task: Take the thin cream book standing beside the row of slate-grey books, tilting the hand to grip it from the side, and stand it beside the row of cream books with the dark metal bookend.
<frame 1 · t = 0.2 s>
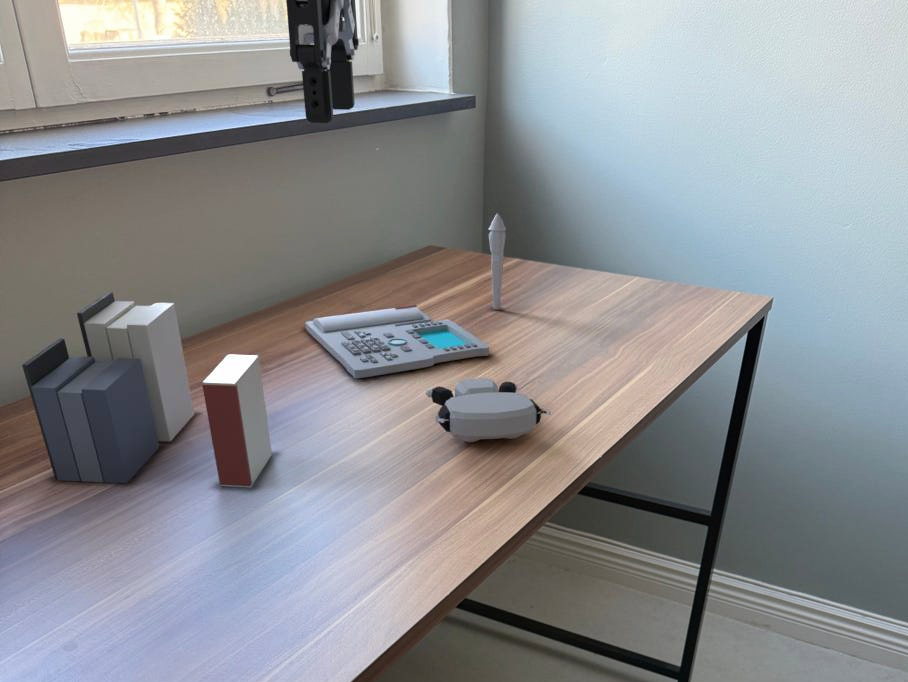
hand: (331, 115, 81), 33 cm above the table, tool pointing down, fingers open, 8 cm apart
robot toy: (483, 428, 107), on the table
office telephone: (395, 345, 131), on the table
cream book: (247, 469, 97), on the table
white books: (154, 426, 106), on the table
grey books: (110, 463, 98), on the table
pen: (495, 310, 144), on the table
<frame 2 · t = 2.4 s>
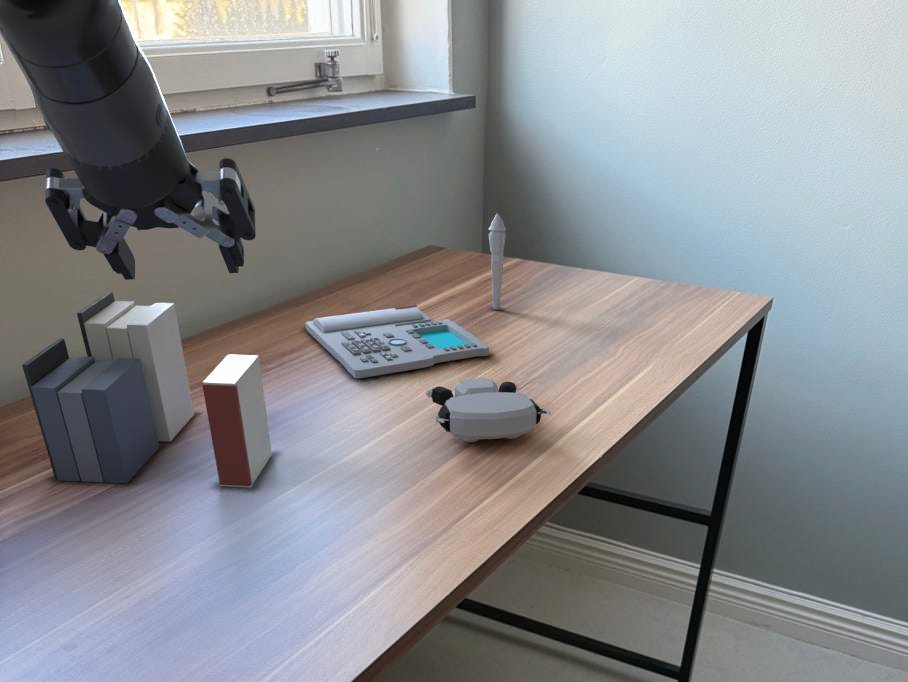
hand: (182, 267, 76), 23 cm above the table, tool tilted 40°, fingers open, 8 cm apart
nothing on the table moved.
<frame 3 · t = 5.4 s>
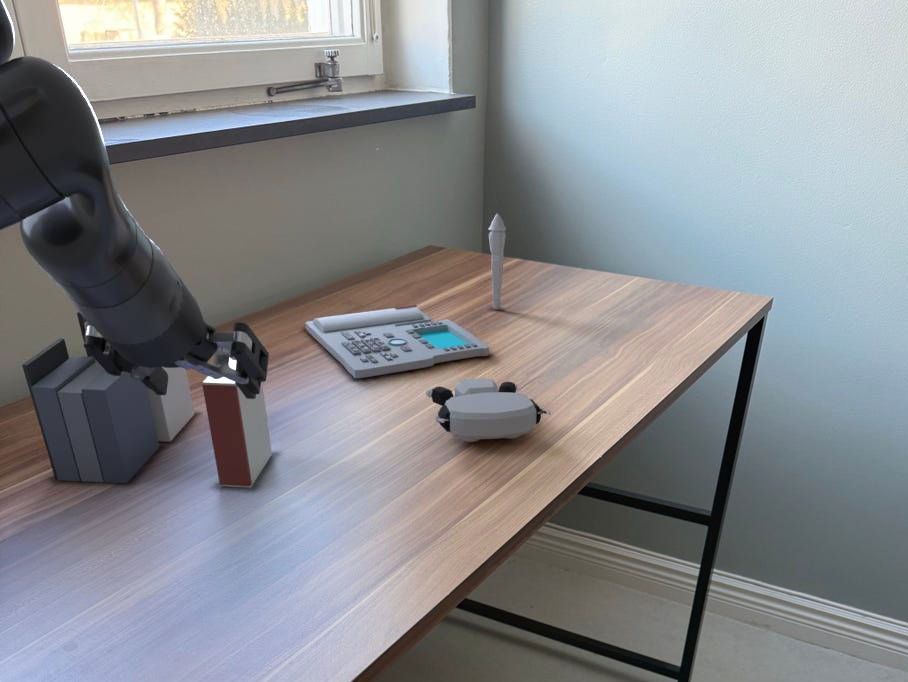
hand: (208, 387, 85), 12 cm above the table, tool tilted 45°, fingers open, 8 cm apart
nothing on the table moved.
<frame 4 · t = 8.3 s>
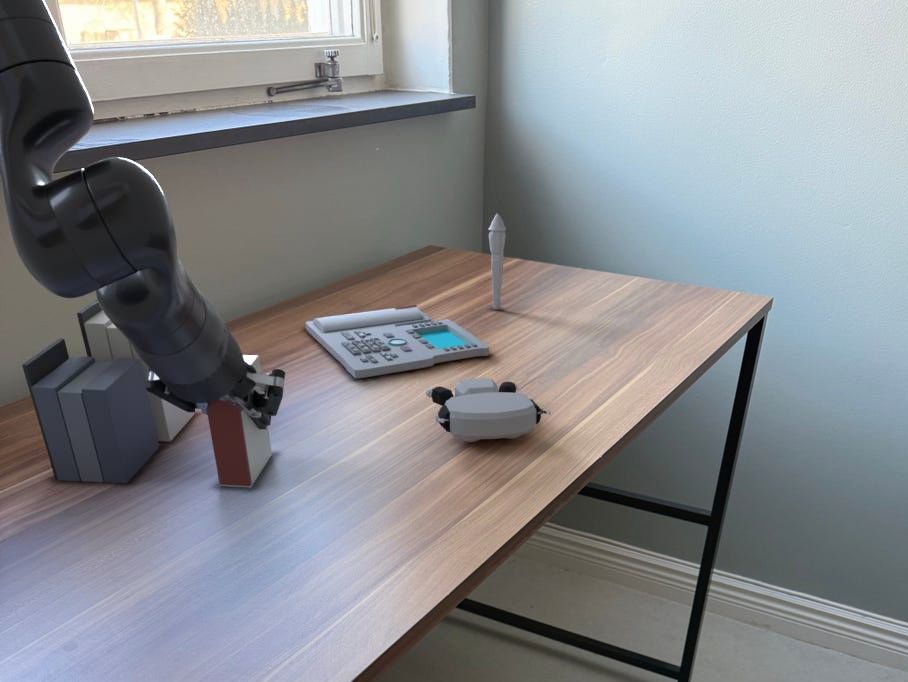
hand: (246, 419, 96), 5 cm above the table, tool tilted 45°, fingers closed on cream book, 3 cm apart
cream book: (247, 469, 97), on the table, touching gripper
everything else where it was.
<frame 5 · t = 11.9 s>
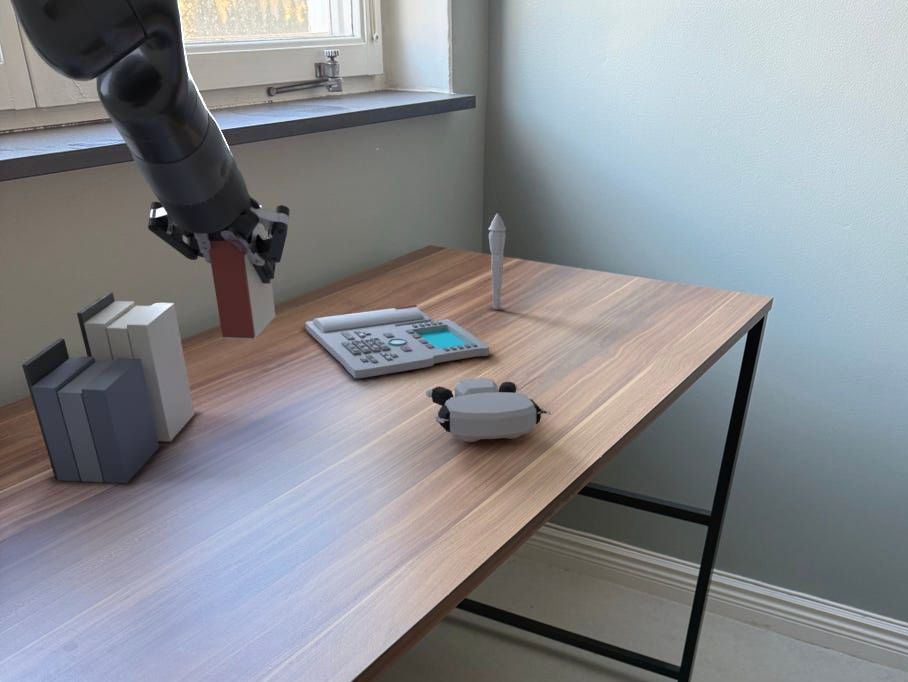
hand: (249, 274, 94), 18 cm above the table, tool tilted 45°, fingers closed on cream book, 3 cm apart
cream book: (250, 327, 96), point 13 cm above the table, touching gripper
everything else where it was.
when the fingers open (5 cm above the table, at t = 15.9 s): cream book stays where it is, on the table.
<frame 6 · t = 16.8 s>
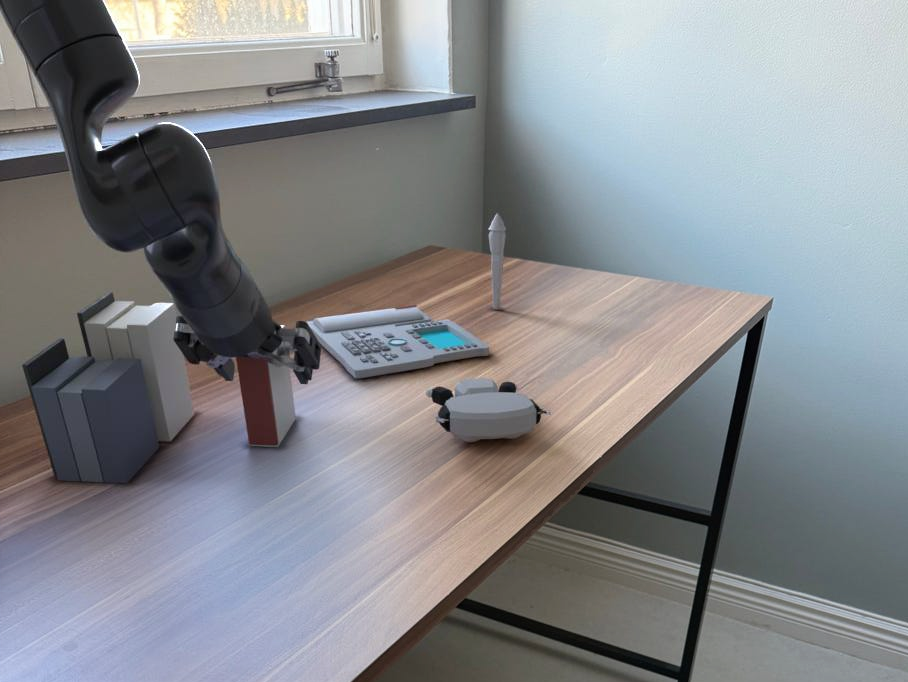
hand: (268, 374, 103), 6 cm above the table, tool tilted 45°, fingers open, 8 cm apart
cream book: (273, 432, 105), on the table
everything else where it was.
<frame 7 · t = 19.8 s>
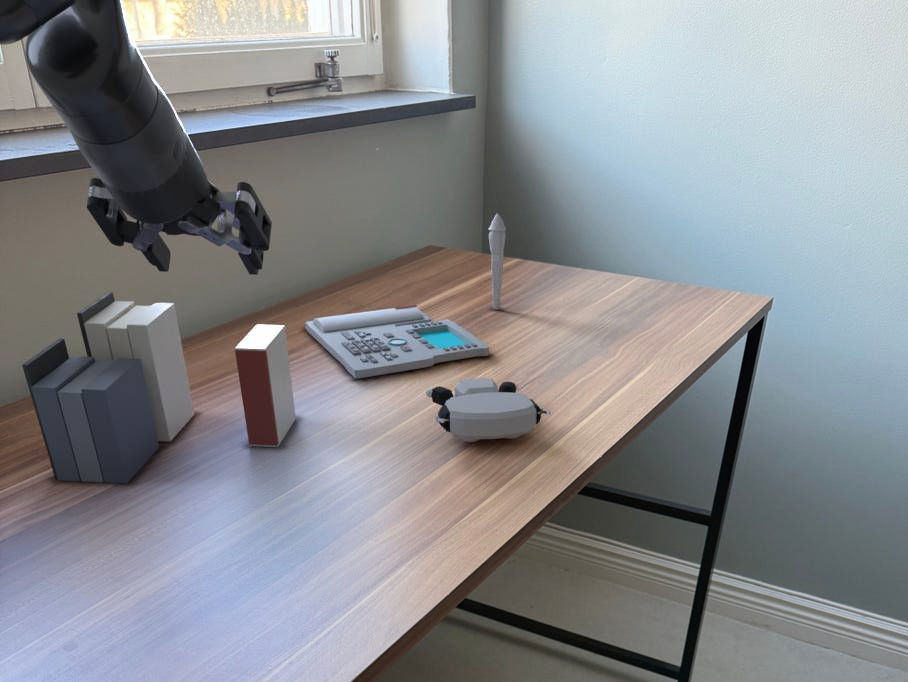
hand: (210, 264, 85), 21 cm above the table, tool tilted 45°, fingers open, 8 cm apart
nothing on the table moved.
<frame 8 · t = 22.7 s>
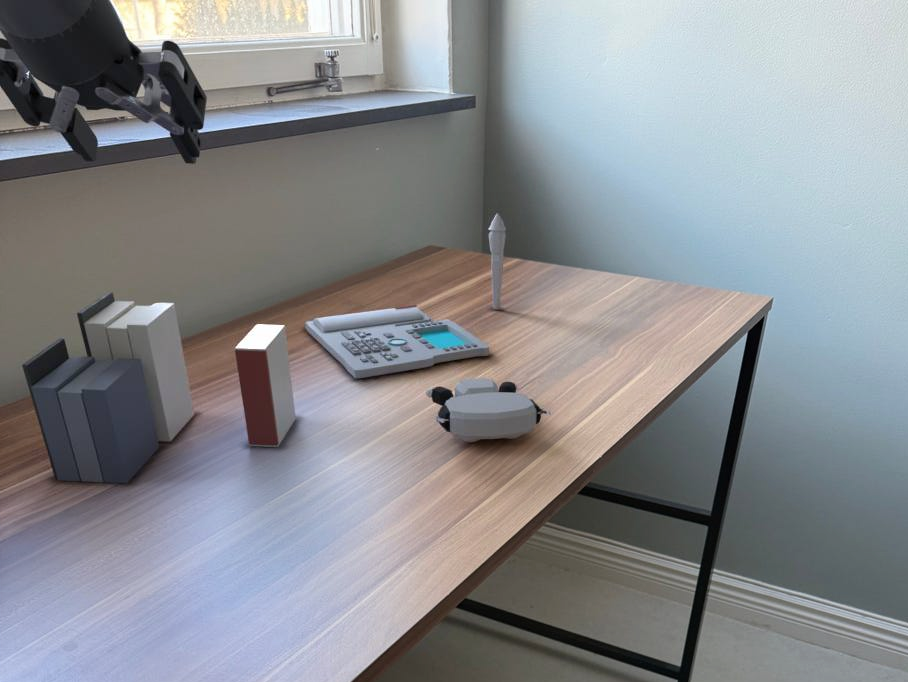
hand: (142, 153, 76), 31 cm above the table, tool tilted 45°, fingers open, 8 cm apart
nothing on the table moved.
at the end: cream book inside the target area (0.3 cm from its centre), on the table; cream book tilted 0°; the gripper is holding nothing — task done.
